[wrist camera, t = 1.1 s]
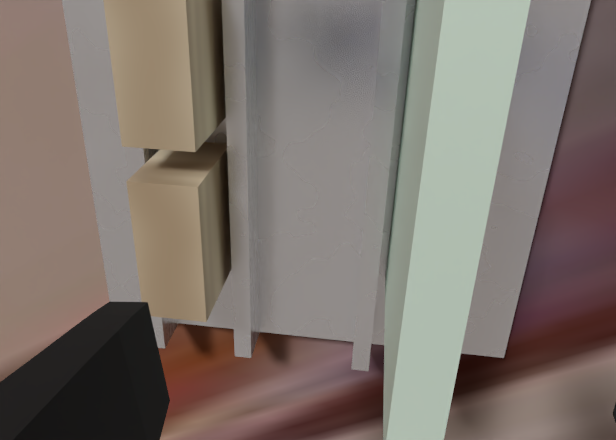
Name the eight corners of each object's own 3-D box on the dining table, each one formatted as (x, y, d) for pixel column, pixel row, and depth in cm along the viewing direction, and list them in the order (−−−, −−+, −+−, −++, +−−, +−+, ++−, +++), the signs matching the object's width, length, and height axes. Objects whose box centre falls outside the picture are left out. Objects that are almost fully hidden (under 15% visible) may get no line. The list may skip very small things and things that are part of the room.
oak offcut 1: (223, -44, 16) (183, -38, 13) (229, 113, 18) (195, 152, 15) (154, -47, 16) (97, -41, 13) (168, 109, 18) (121, 146, 15)
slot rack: (616, -161, 14) (658, -178, 12) (499, 340, 22) (511, 387, 19) (53, -171, 16) (-1, -187, 14) (122, 301, 23) (94, 340, 21)
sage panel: (465, -35, 15) (531, -4, 8) (420, 280, 20) (436, 476, 13) (419, -37, 15) (445, -7, 8) (385, 276, 20) (382, 468, 13)
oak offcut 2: (230, 143, 18) (197, 187, 15) (234, 262, 20) (206, 322, 17) (170, 139, 18) (126, 181, 15) (180, 257, 21) (143, 315, 17)
